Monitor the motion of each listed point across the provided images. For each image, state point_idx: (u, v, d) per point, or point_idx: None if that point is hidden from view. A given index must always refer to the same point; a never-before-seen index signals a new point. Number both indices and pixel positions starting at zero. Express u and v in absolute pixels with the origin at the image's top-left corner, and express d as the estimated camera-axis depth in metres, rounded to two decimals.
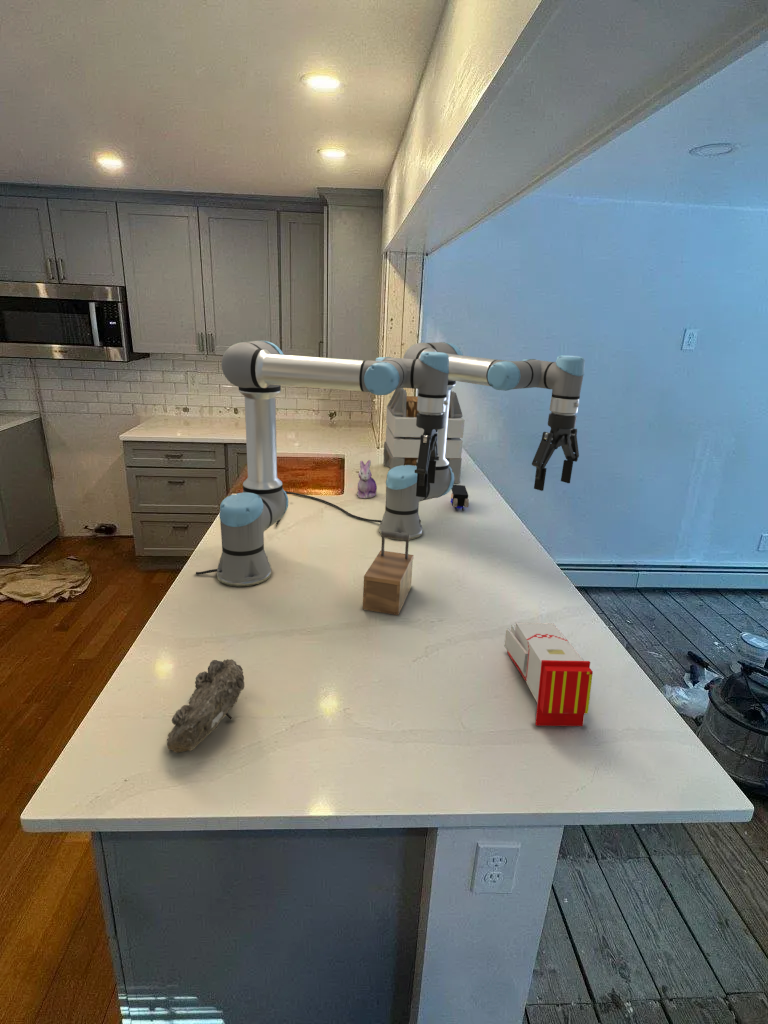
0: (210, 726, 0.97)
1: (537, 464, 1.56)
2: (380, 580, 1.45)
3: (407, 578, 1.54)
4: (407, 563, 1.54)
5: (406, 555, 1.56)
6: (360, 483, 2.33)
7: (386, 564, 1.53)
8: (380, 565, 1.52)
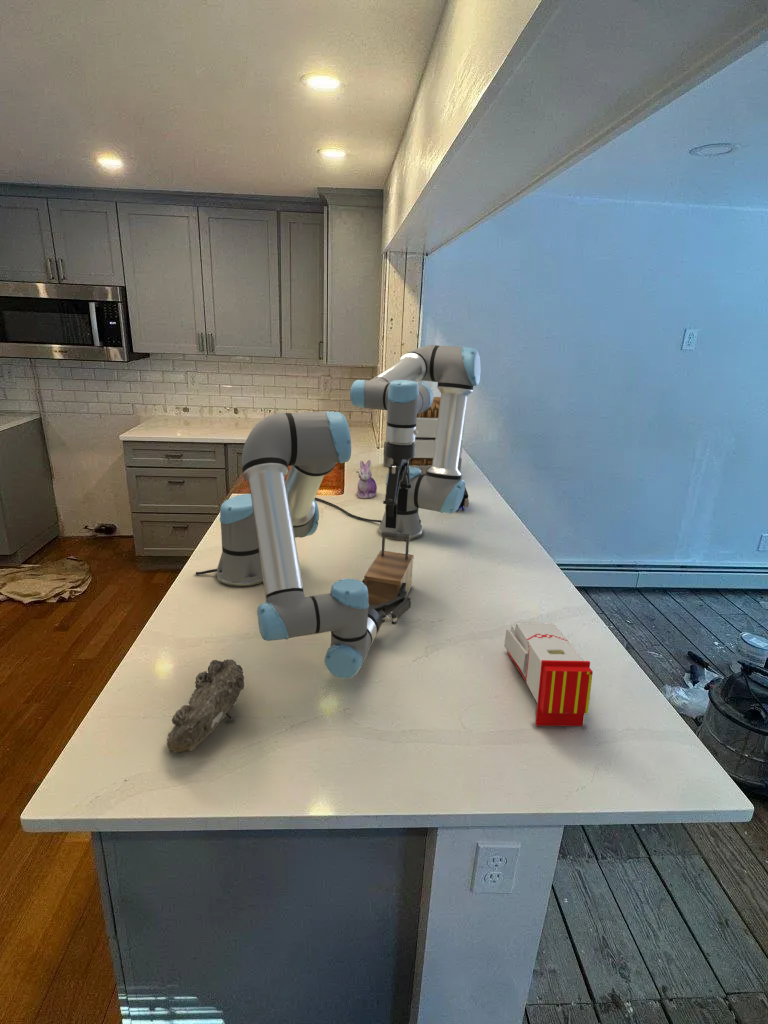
0: (210, 726, 0.97)
1: (391, 502, 1.42)
2: (380, 580, 1.45)
3: (407, 578, 1.54)
4: (407, 563, 1.54)
5: (406, 555, 1.56)
6: (360, 483, 2.33)
7: (386, 564, 1.53)
8: (380, 565, 1.52)
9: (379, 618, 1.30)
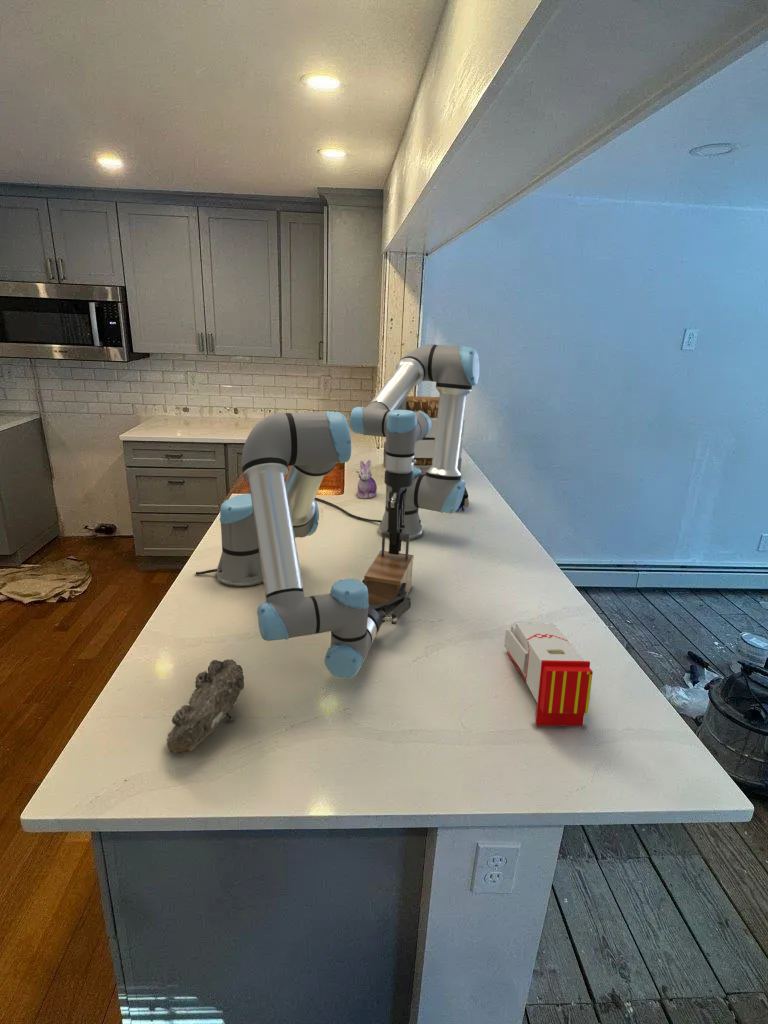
0: (210, 726, 0.97)
1: (394, 531, 1.50)
2: (380, 580, 1.45)
3: (407, 578, 1.54)
4: (407, 563, 1.54)
5: (406, 555, 1.56)
6: (360, 483, 2.33)
7: (386, 564, 1.53)
8: (381, 565, 1.52)
9: (379, 618, 1.30)
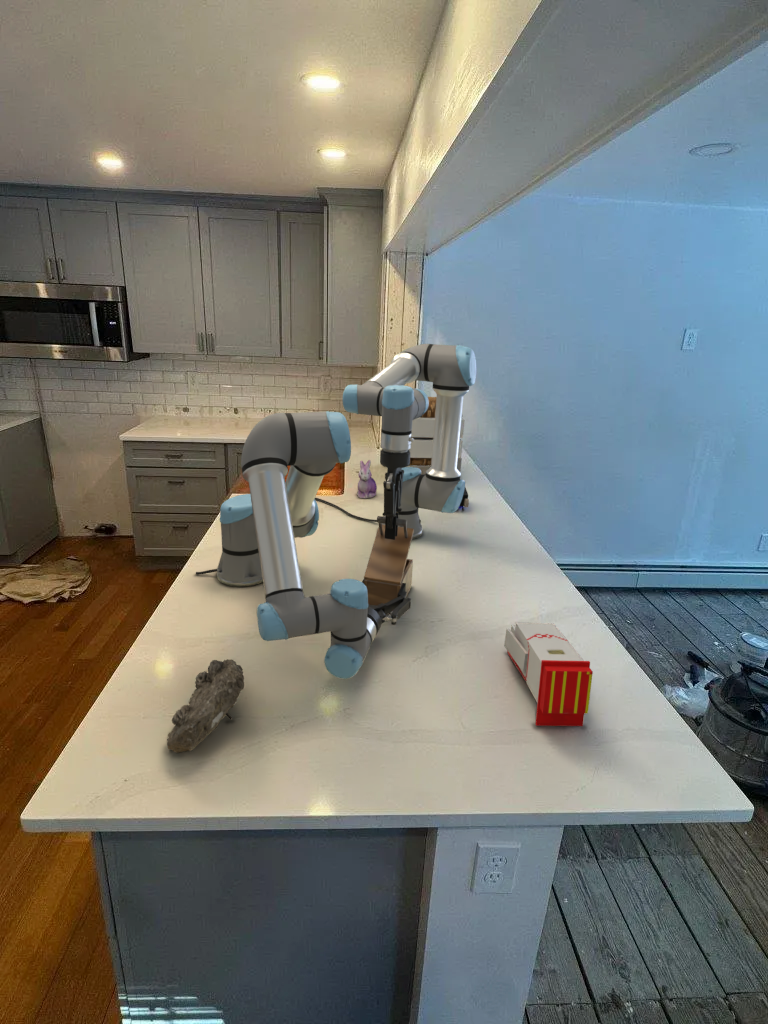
0: (210, 726, 0.97)
1: (390, 514, 1.42)
2: (380, 580, 1.45)
3: (407, 578, 1.54)
4: (407, 546, 1.50)
5: (405, 535, 1.51)
6: (360, 483, 2.33)
7: (385, 551, 1.49)
8: (380, 554, 1.49)
9: (379, 618, 1.30)
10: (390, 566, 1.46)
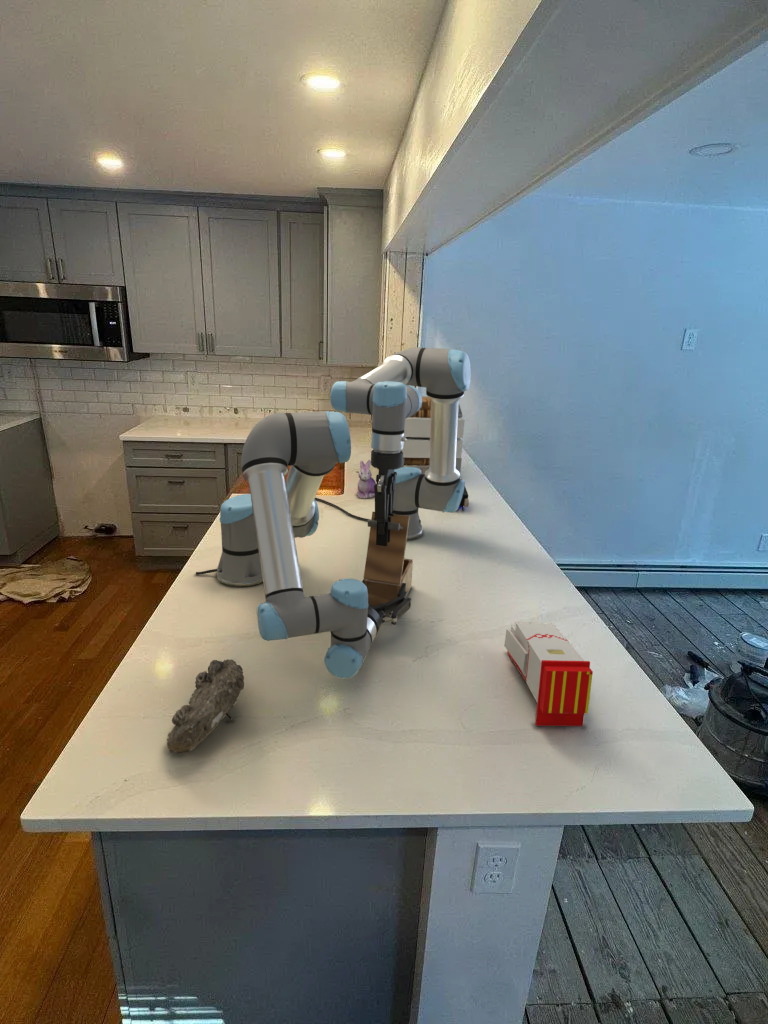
0: (210, 726, 0.97)
1: (382, 519, 1.33)
2: (380, 580, 1.45)
3: (407, 578, 1.54)
4: (404, 539, 1.44)
5: (401, 529, 1.43)
6: (360, 483, 2.33)
7: (382, 547, 1.45)
8: (376, 550, 1.45)
9: (379, 618, 1.30)
10: (388, 565, 1.44)
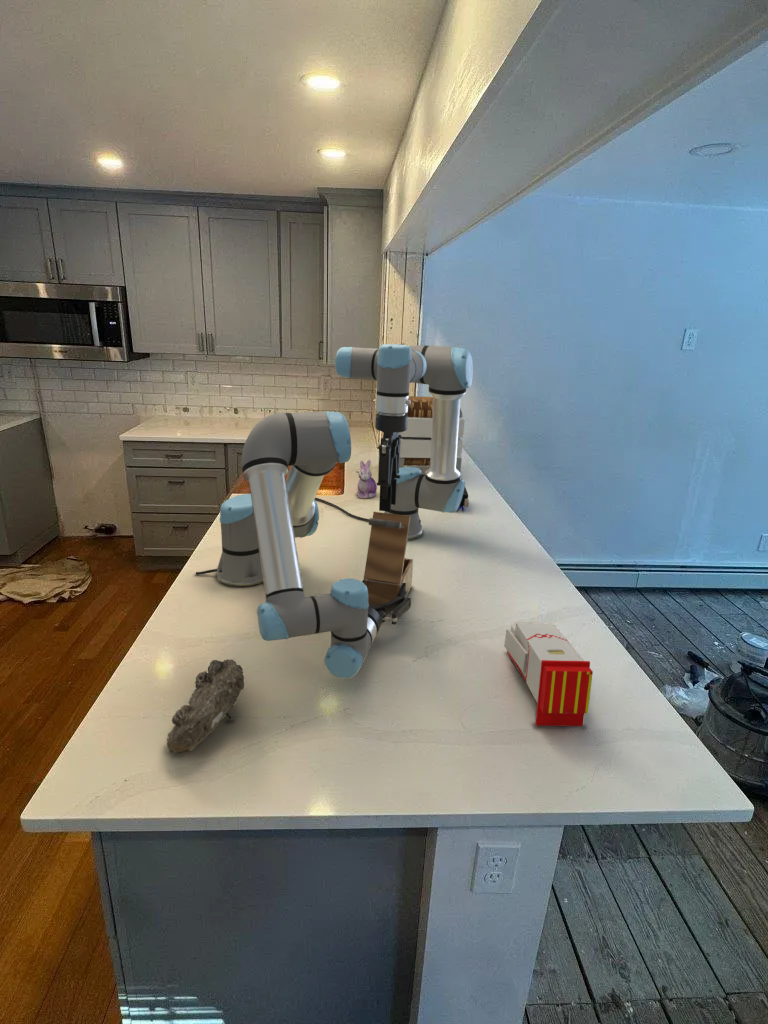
0: (210, 726, 0.97)
1: (385, 483, 1.32)
2: (380, 580, 1.45)
3: (407, 578, 1.54)
4: (404, 539, 1.44)
5: (401, 528, 1.44)
6: (360, 483, 2.33)
7: (383, 546, 1.45)
8: (377, 549, 1.45)
9: (379, 618, 1.30)
10: (389, 564, 1.44)
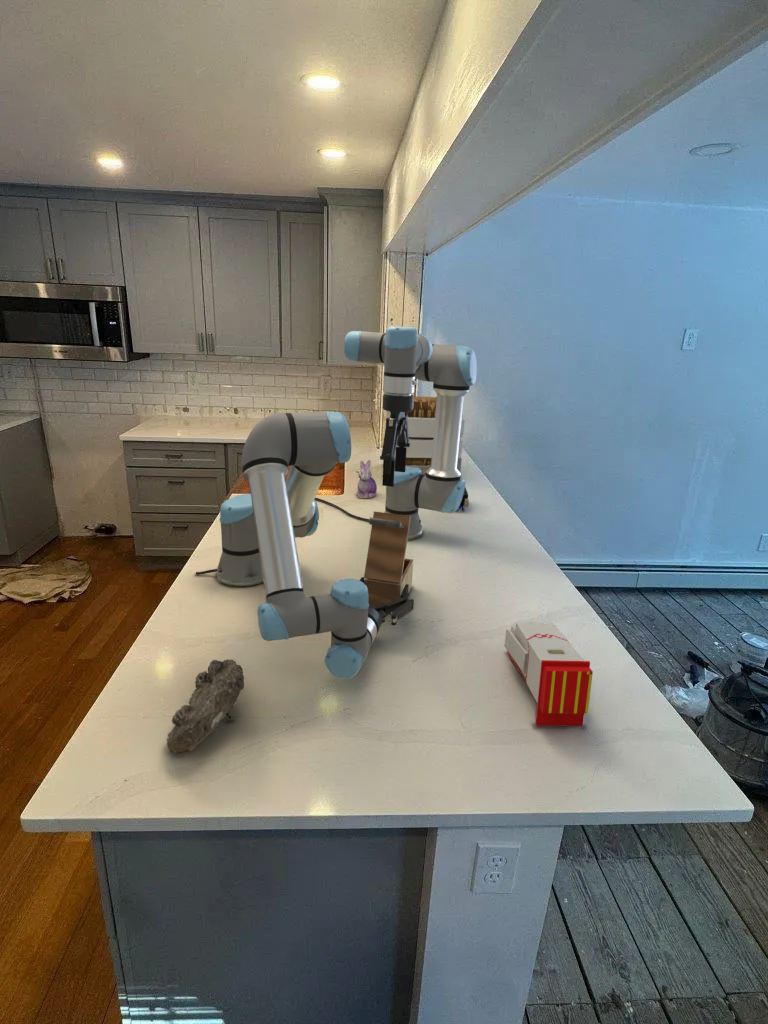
0: (210, 726, 0.97)
1: (388, 457, 1.32)
2: None
3: (407, 578, 1.54)
4: (404, 539, 1.45)
5: (402, 528, 1.44)
6: (360, 483, 2.33)
7: (383, 546, 1.45)
8: (377, 549, 1.46)
9: (379, 618, 1.30)
10: (389, 564, 1.45)
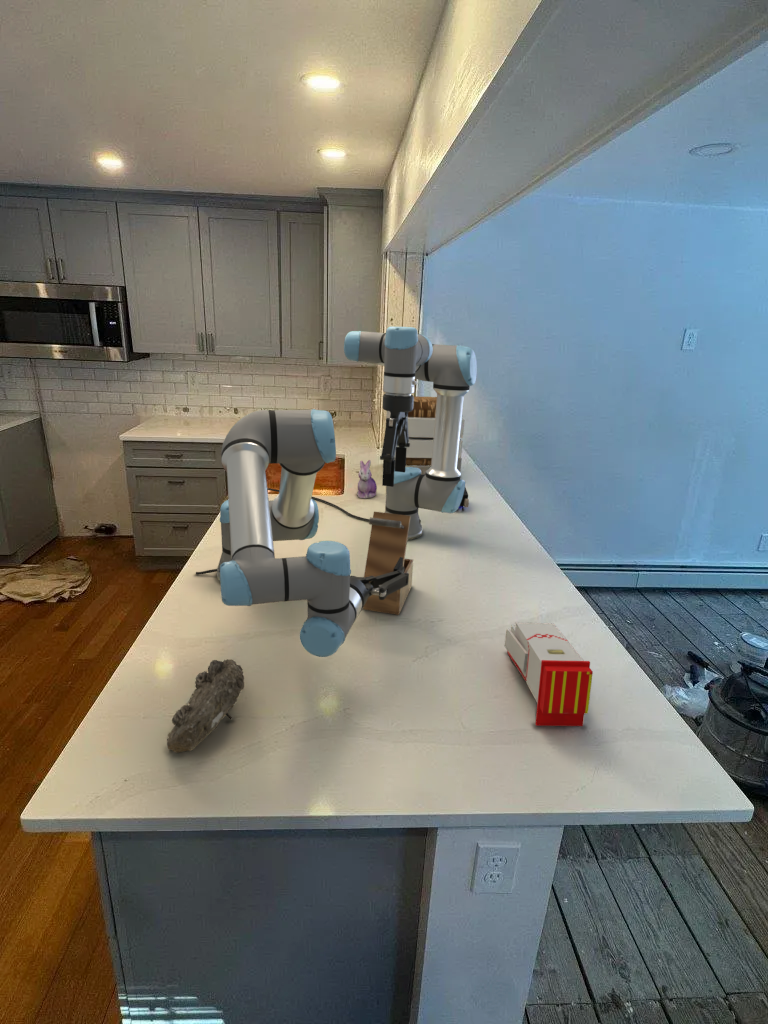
0: (210, 726, 0.97)
1: (388, 457, 1.32)
2: None
3: None
4: (404, 539, 1.45)
5: (402, 528, 1.44)
6: (360, 483, 2.33)
7: (383, 546, 1.45)
8: (377, 549, 1.46)
9: (365, 590, 1.13)
10: (389, 564, 1.45)
